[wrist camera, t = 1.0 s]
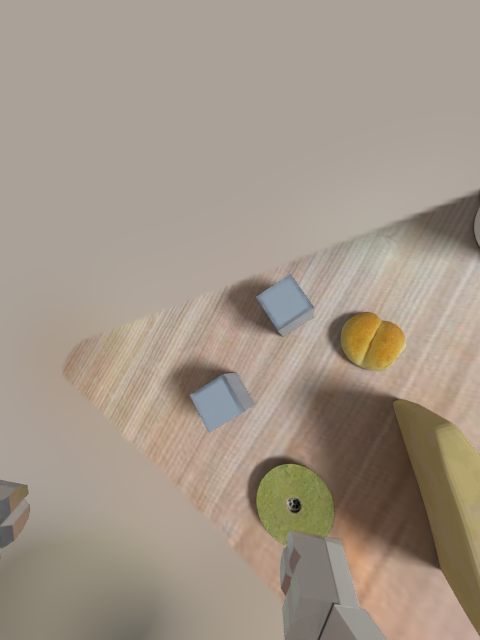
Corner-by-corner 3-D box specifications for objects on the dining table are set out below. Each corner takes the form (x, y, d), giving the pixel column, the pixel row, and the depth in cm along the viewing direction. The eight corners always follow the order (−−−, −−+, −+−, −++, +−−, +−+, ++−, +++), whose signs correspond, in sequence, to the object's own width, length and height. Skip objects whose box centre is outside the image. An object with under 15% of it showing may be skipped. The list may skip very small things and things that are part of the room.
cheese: (364, 410, 43) (390, 431, 28) (428, 387, 41) (492, 398, 27) (439, 574, 37) (520, 704, 23) (518, 555, 36) (658, 683, 21)
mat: (259, 456, 45) (256, 460, 43) (332, 464, 42) (333, 468, 40) (258, 534, 43) (255, 541, 41) (334, 547, 40) (335, 556, 39)
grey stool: (237, 372, 48) (223, 373, 40) (255, 404, 47) (244, 411, 39) (208, 390, 49) (189, 395, 41) (225, 422, 47) (208, 432, 40)
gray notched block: (293, 288, 48) (290, 273, 41) (313, 317, 47) (314, 307, 39) (264, 307, 49) (255, 296, 41) (283, 336, 47) (277, 330, 40)
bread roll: (355, 306, 46) (359, 300, 42) (409, 334, 43) (419, 331, 39) (328, 349, 45) (330, 347, 42) (381, 380, 43) (388, 381, 39)
